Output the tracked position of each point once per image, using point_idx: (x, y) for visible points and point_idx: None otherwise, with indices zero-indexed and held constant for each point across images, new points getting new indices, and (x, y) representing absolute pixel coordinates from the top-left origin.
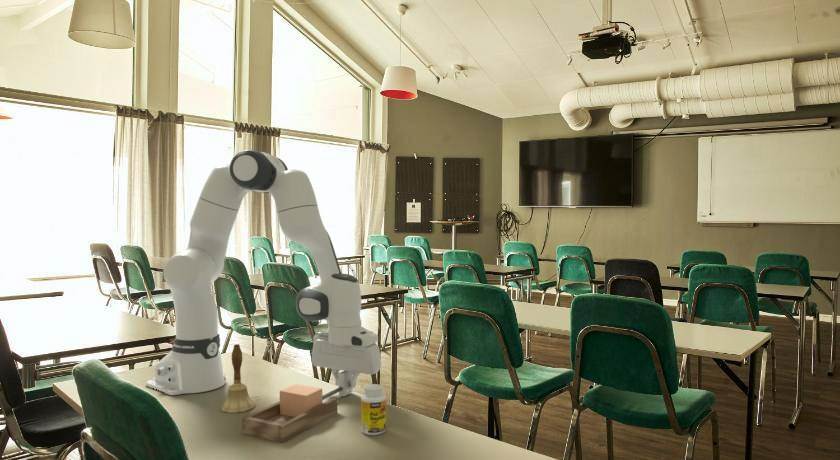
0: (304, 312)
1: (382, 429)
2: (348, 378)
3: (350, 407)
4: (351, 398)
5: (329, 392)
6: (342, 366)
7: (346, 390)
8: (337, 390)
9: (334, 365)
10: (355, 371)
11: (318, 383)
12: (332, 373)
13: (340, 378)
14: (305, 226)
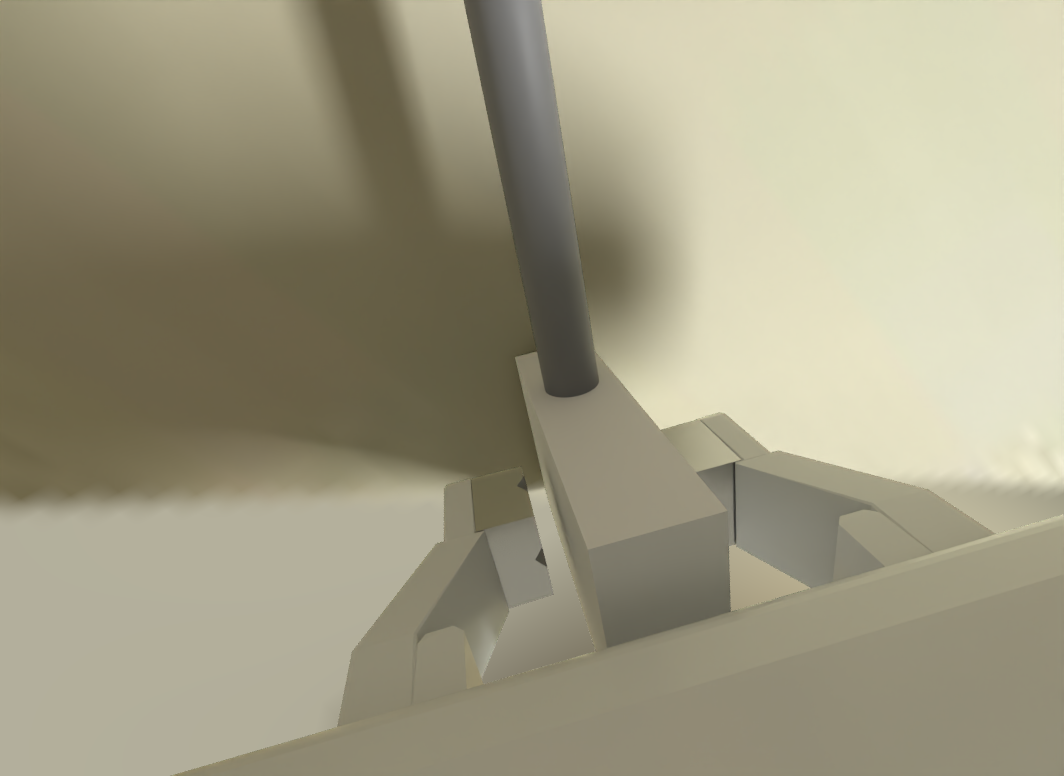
0: None
1: None
2: (579, 574)
3: (119, 144)
4: (425, 391)
5: (515, 36)
6: (718, 732)
7: (534, 431)
8: (525, 266)
9: (1024, 631)
10: (227, 773)
11: (995, 453)
12: (893, 483)
13: (633, 458)
14: None
